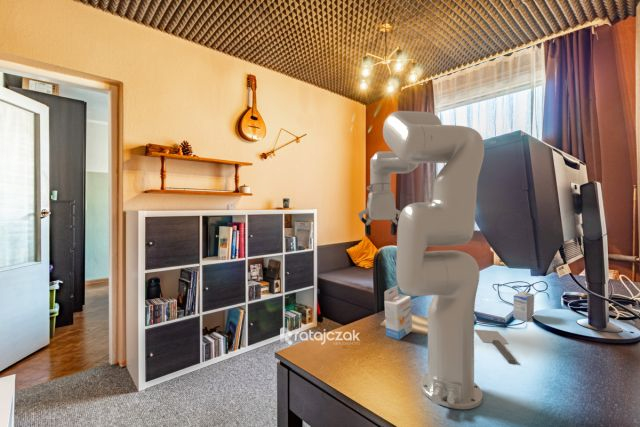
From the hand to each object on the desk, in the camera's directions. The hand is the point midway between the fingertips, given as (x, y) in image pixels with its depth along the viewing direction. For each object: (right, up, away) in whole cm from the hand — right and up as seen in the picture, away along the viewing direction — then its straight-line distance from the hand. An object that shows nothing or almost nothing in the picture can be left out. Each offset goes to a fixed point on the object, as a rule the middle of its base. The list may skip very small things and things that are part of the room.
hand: (381, 235), depth 111 cm
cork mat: (+9, -31, -4) cm, 33 cm away
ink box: (+3, -31, -14) cm, 34 cm away
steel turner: (+30, -31, -21) cm, 48 cm away
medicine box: (+53, -31, 0) cm, 61 cm away
